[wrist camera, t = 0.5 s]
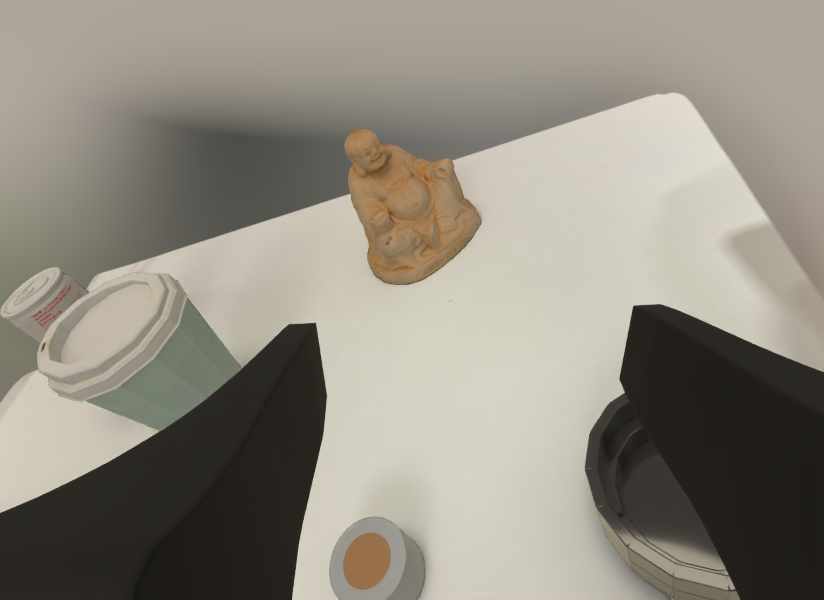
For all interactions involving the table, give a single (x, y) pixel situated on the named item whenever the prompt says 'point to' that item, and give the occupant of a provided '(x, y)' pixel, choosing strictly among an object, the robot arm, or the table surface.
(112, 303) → the disposable coffee cup
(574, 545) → the table surface
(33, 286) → the beverage can
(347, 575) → the tape
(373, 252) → the statue
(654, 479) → the bowl
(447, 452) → the table surface
